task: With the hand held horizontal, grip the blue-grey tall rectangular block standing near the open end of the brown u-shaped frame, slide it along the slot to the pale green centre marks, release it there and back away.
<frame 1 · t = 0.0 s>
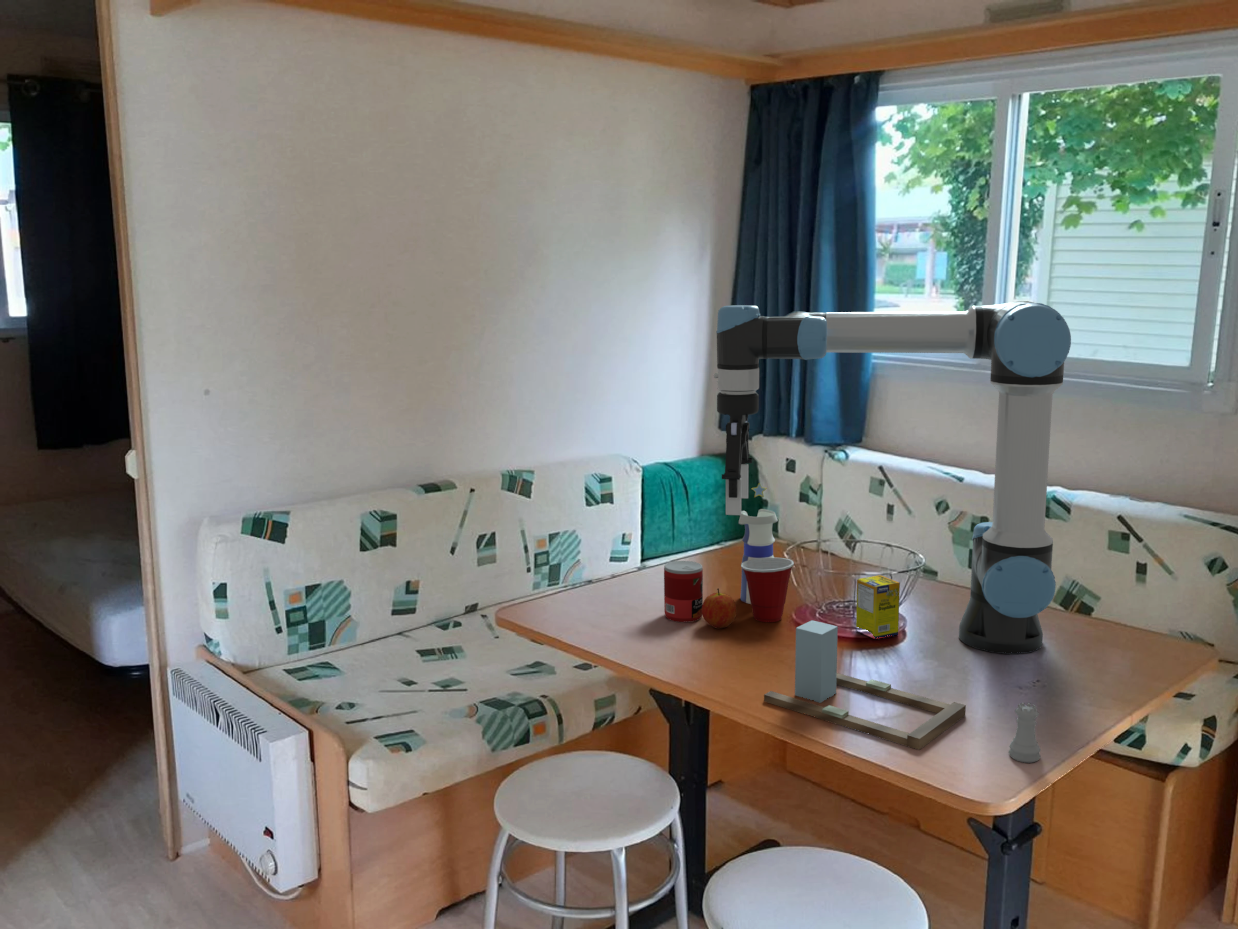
hand: (737, 506, 197), 28 cm above the table, tool pointing down, fingers open, 13 cm apart
rook chess piece: (1024, 758, 157), on the table
fruit: (719, 627, 215), on the table
brown u-shaped frame: (857, 706, 176), on the table
water bottle: (756, 599, 232), on the table
canned food: (683, 617, 221), on the table
plastic cup: (766, 618, 220), on the table
supplement box: (876, 634, 209), on the table
blue-grey tall rectangular block: (815, 694, 181), on the table
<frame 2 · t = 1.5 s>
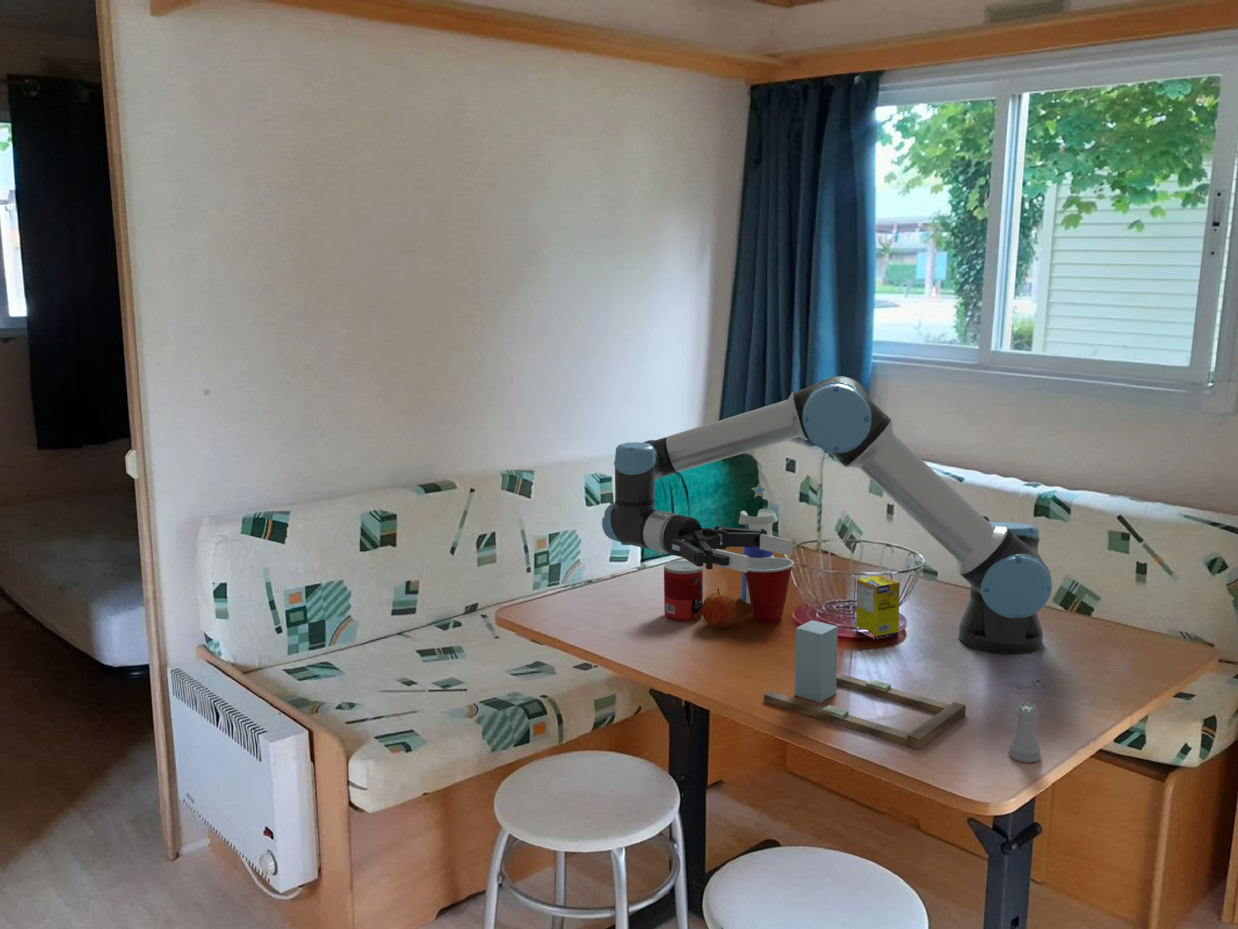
hand: (770, 556, 183), 23 cm above the table, tool horizontal, fingers open, 13 cm apart
nothing on the table moved.
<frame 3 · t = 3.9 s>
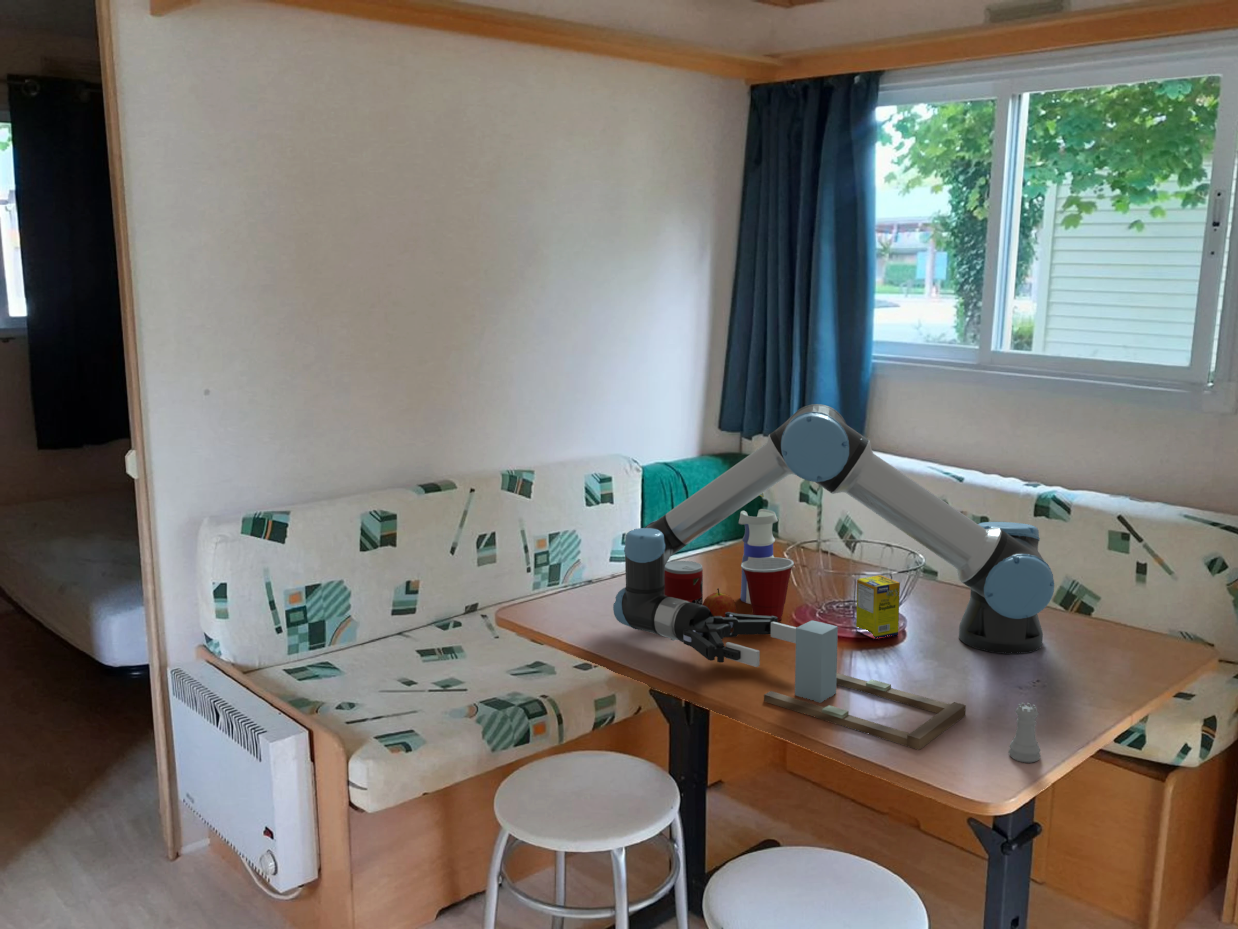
hand: (781, 647, 184), 7 cm above the table, tool horizontal, fingers open, 13 cm apart
nothing on the table moved.
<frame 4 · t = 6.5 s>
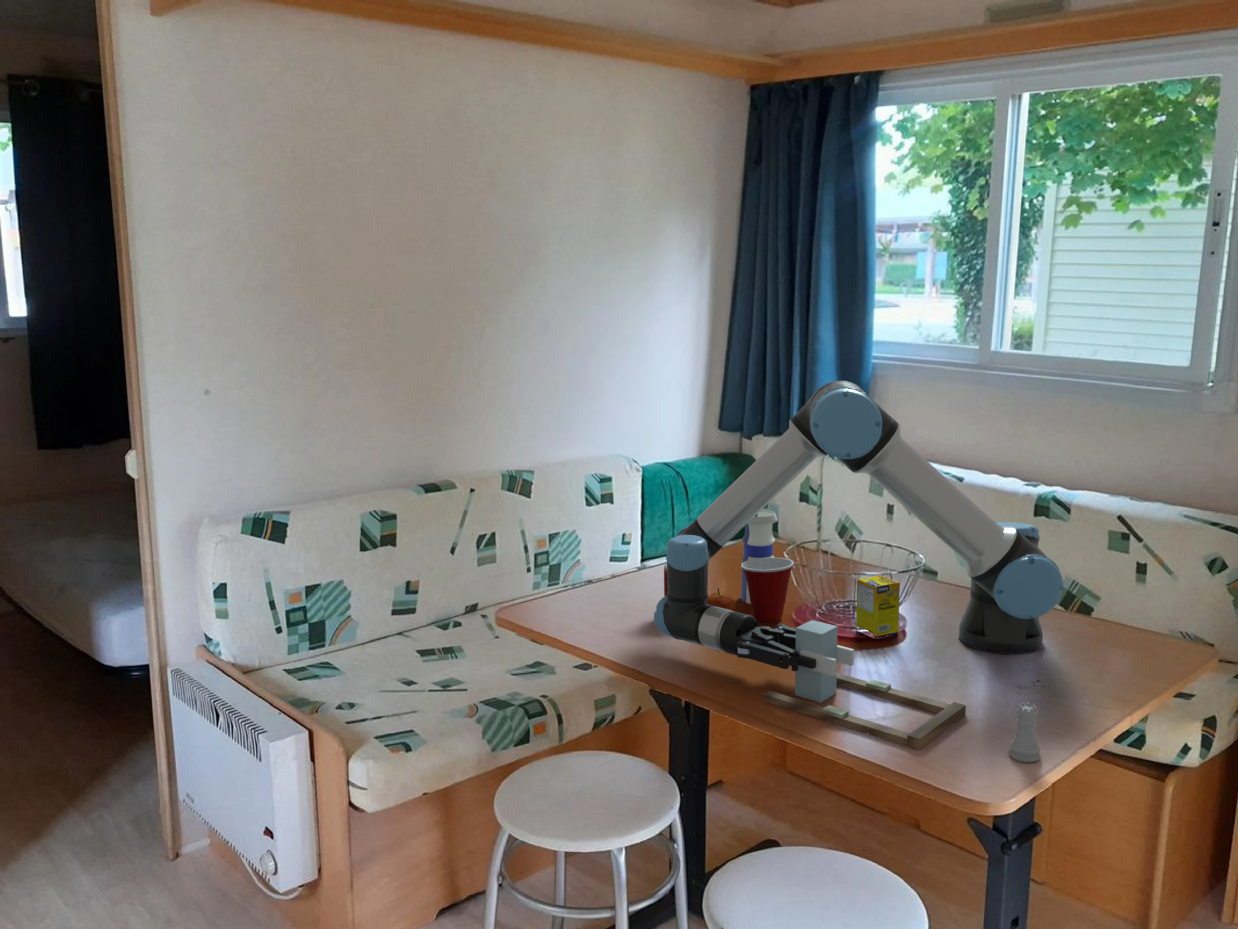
hand: (843, 662, 176), 7 cm above the table, tool horizontal, fingers closed on blue-grey tall rectangular block, 5 cm apart
blue-grey tall rectangular block: (815, 694, 181), on the table, touching gripper
everything else where it was.
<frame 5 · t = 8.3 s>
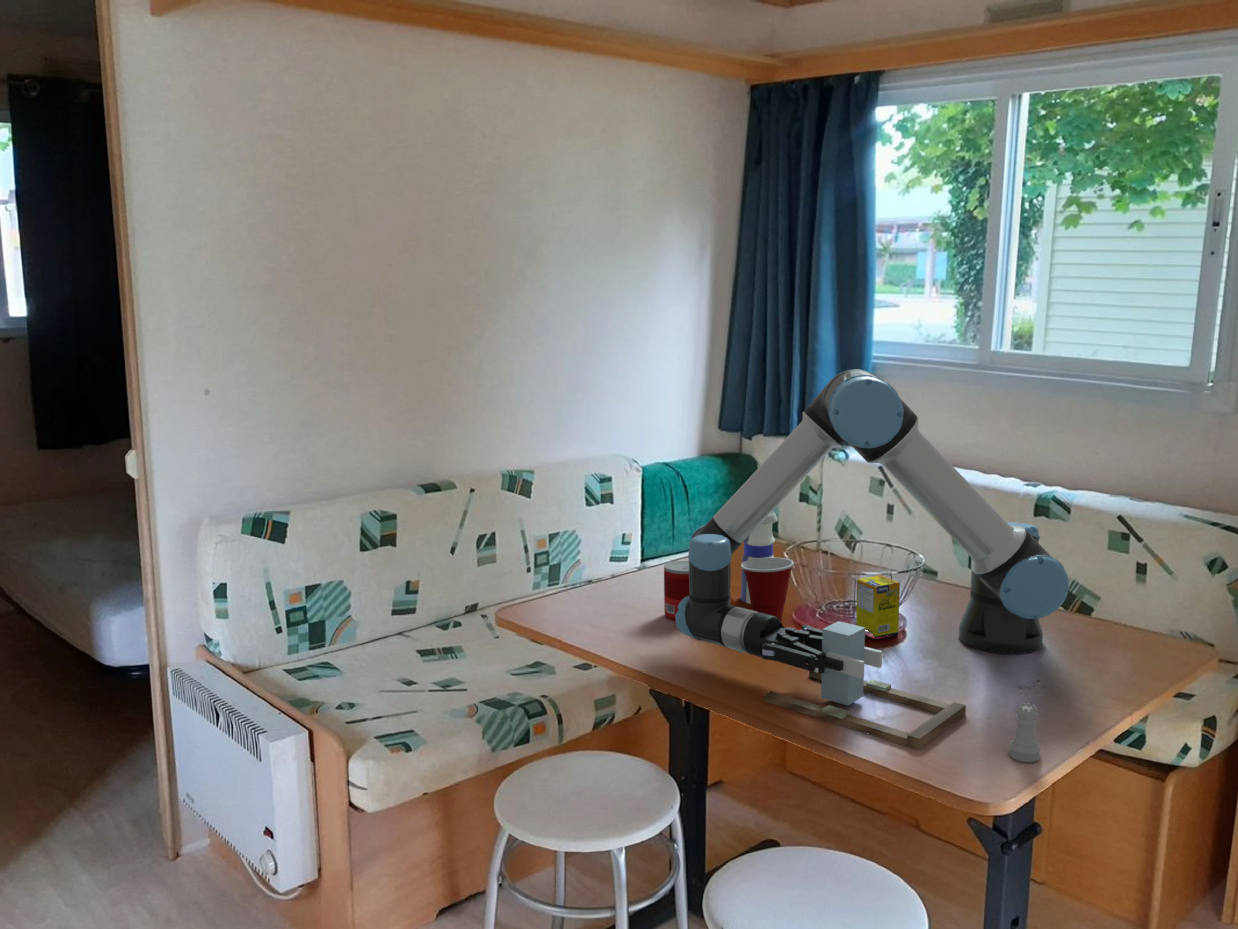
hand: (871, 664, 172), 8 cm above the table, tool horizontal, fingers closed on blue-grey tall rectangular block, 5 cm apart
blue-grey tall rectangular block: (842, 697, 177), point 1 cm above the table, touching gripper
everything else where it was.
when the fingers open (7 cm above the table, at t = 10.3 s): blue-grey tall rectangular block stays where it is, on the table.
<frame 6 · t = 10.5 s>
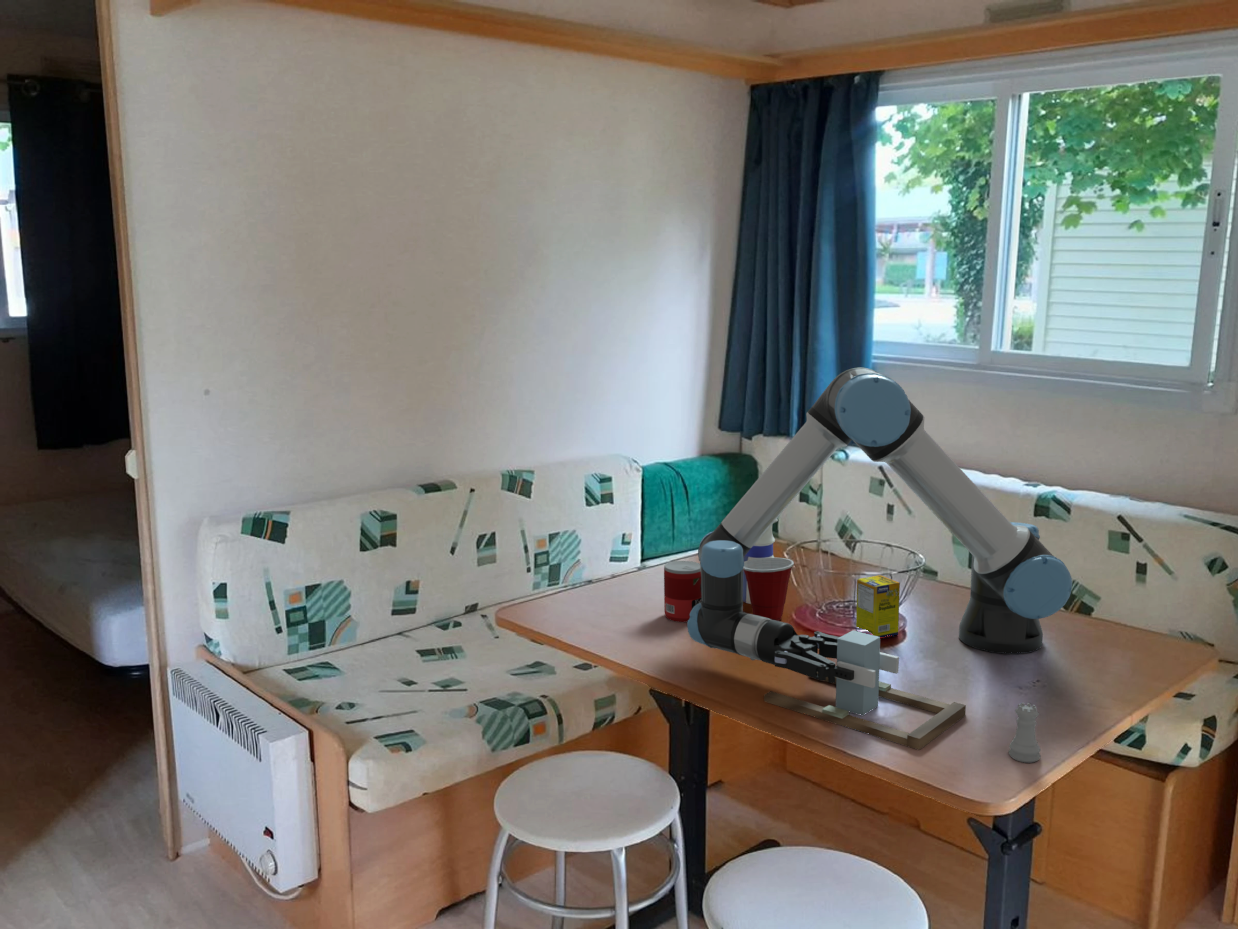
hand: (885, 672, 171), 7 cm above the table, tool horizontal, fingers open, 7 cm apart
blue-grey tall rectangular block: (856, 706, 176), on the table
everything else where it was.
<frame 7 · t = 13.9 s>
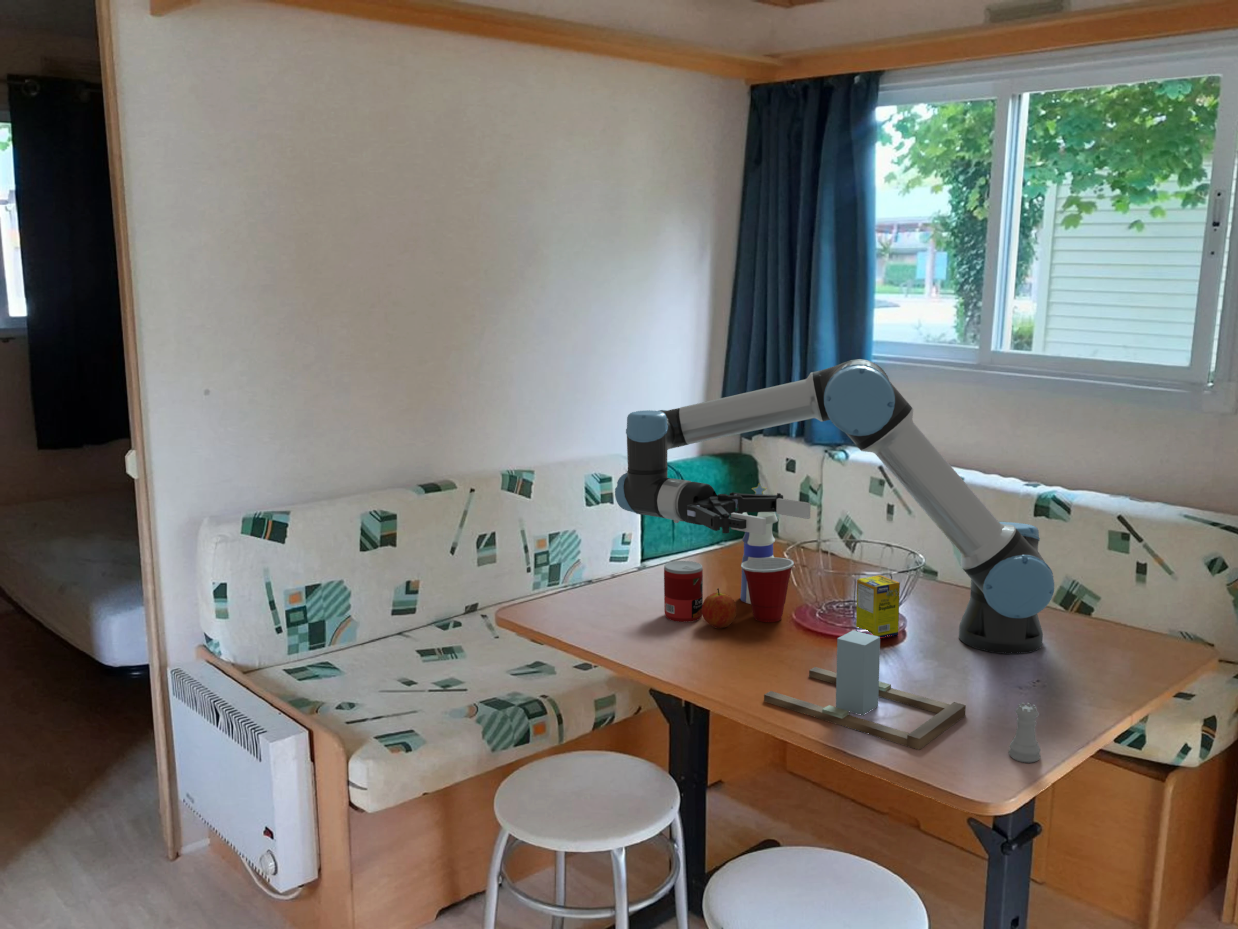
hand: (787, 518, 180), 30 cm above the table, tool horizontal, fingers open, 13 cm apart
nothing on the table moved.
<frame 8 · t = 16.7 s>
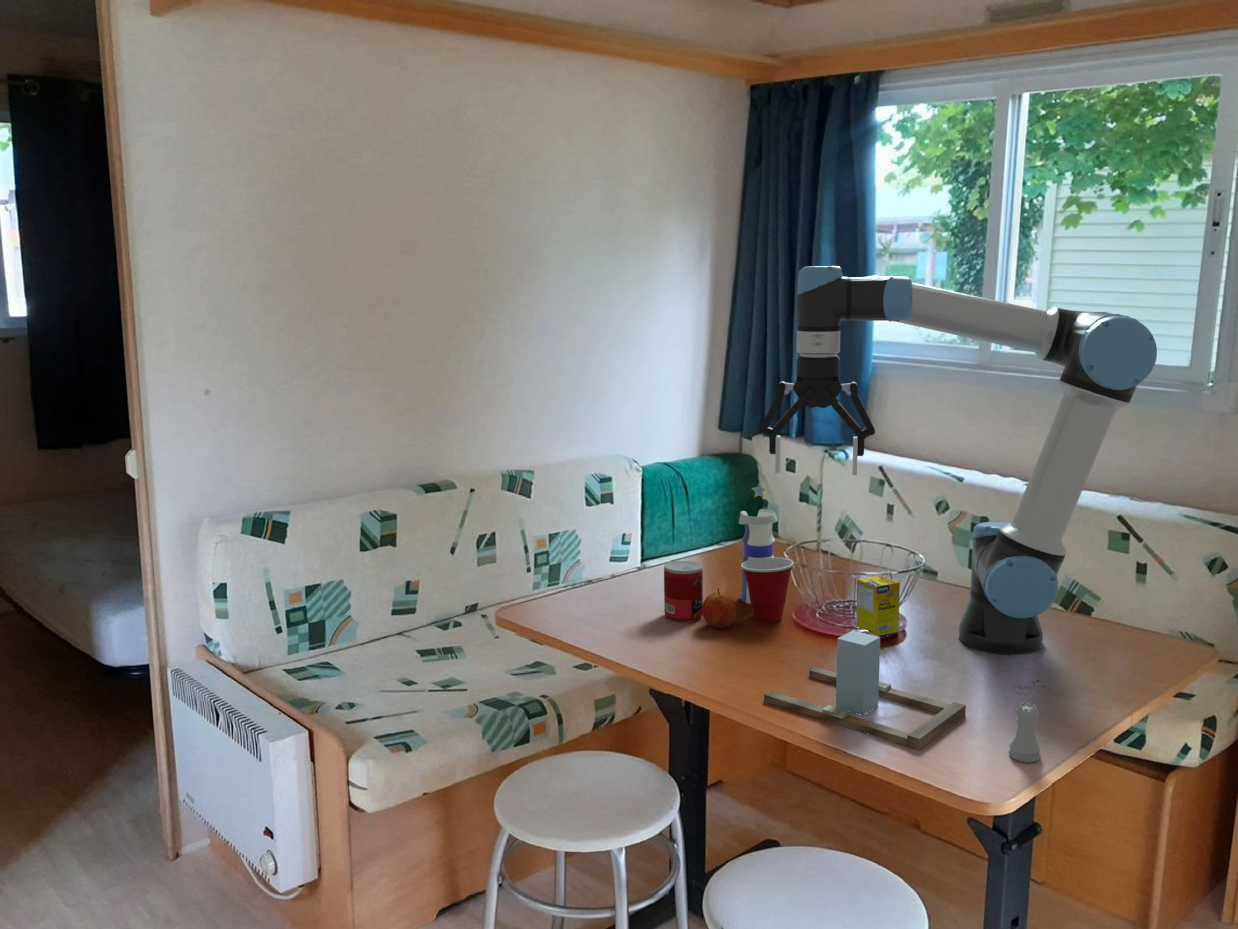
hand: (815, 473, 192), 35 cm above the table, tool pointing down, fingers open, 13 cm apart
nothing on the table moved.
at the end: blue-grey tall rectangular block inside the target area on the brown u-shaped frame (0.0 cm from its centre), point 0.0 cm above the brown u-shaped frame's base; blue-grey tall rectangular block tilted 0°; the gripper is holding nothing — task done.
